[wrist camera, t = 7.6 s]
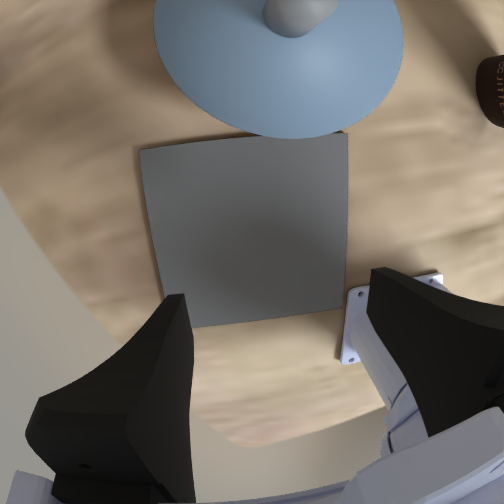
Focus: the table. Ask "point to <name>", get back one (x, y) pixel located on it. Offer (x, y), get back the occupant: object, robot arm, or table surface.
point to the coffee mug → (491, 89)
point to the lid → (281, 60)
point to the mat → (250, 225)
